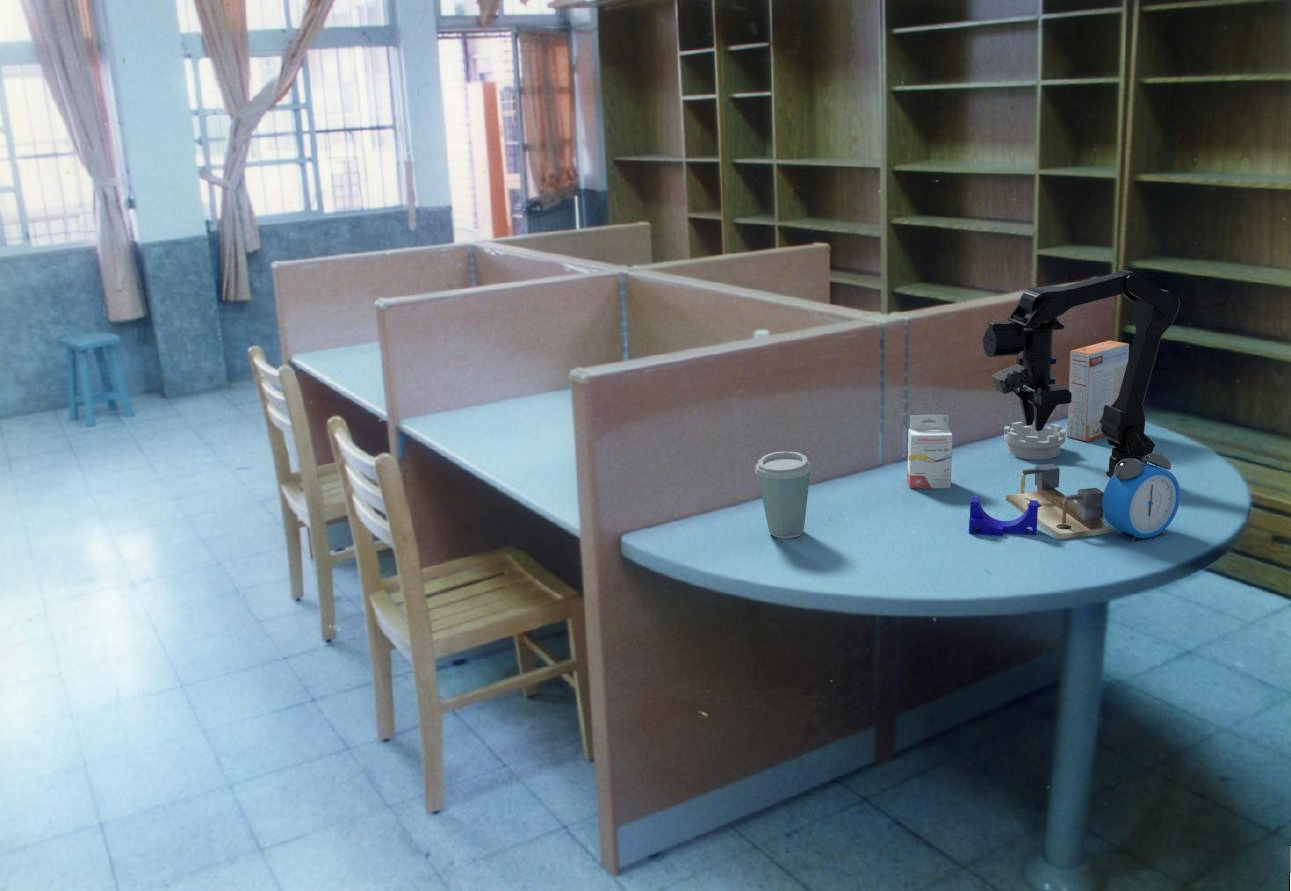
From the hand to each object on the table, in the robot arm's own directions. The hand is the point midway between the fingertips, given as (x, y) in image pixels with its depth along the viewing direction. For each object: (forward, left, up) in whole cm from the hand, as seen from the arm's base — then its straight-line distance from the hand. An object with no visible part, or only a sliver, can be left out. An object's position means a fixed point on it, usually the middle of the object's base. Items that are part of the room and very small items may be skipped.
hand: (1033, 428), depth 239 cm
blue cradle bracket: (+15, +20, -13) cm, 29 cm away
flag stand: (-11, -23, -13) cm, 29 cm away
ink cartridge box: (+19, -9, -13) cm, 24 cm away
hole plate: (+3, +15, -13) cm, 20 cm away
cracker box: (-30, -31, -13) cm, 45 cm away
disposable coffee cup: (+55, +9, -13) cm, 57 cm away
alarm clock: (-7, +28, -13) cm, 32 cm away
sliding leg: (+2, +7, -11) cm, 13 cm away
